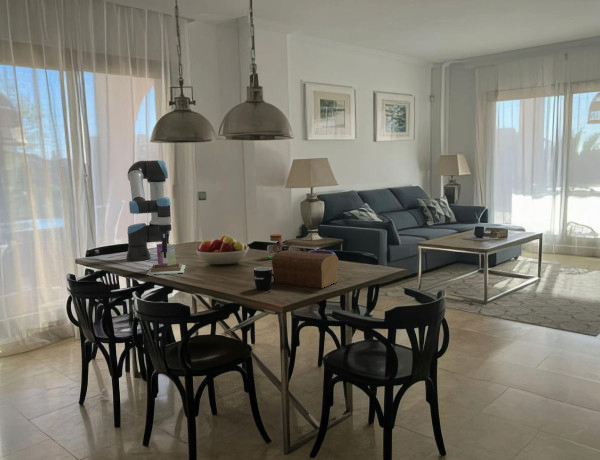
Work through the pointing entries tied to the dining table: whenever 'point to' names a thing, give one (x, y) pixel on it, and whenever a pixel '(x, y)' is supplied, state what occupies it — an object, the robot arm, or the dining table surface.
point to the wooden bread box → (305, 268)
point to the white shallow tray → (166, 269)
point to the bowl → (323, 252)
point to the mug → (263, 278)
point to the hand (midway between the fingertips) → (166, 261)
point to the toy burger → (277, 246)
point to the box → (170, 254)
